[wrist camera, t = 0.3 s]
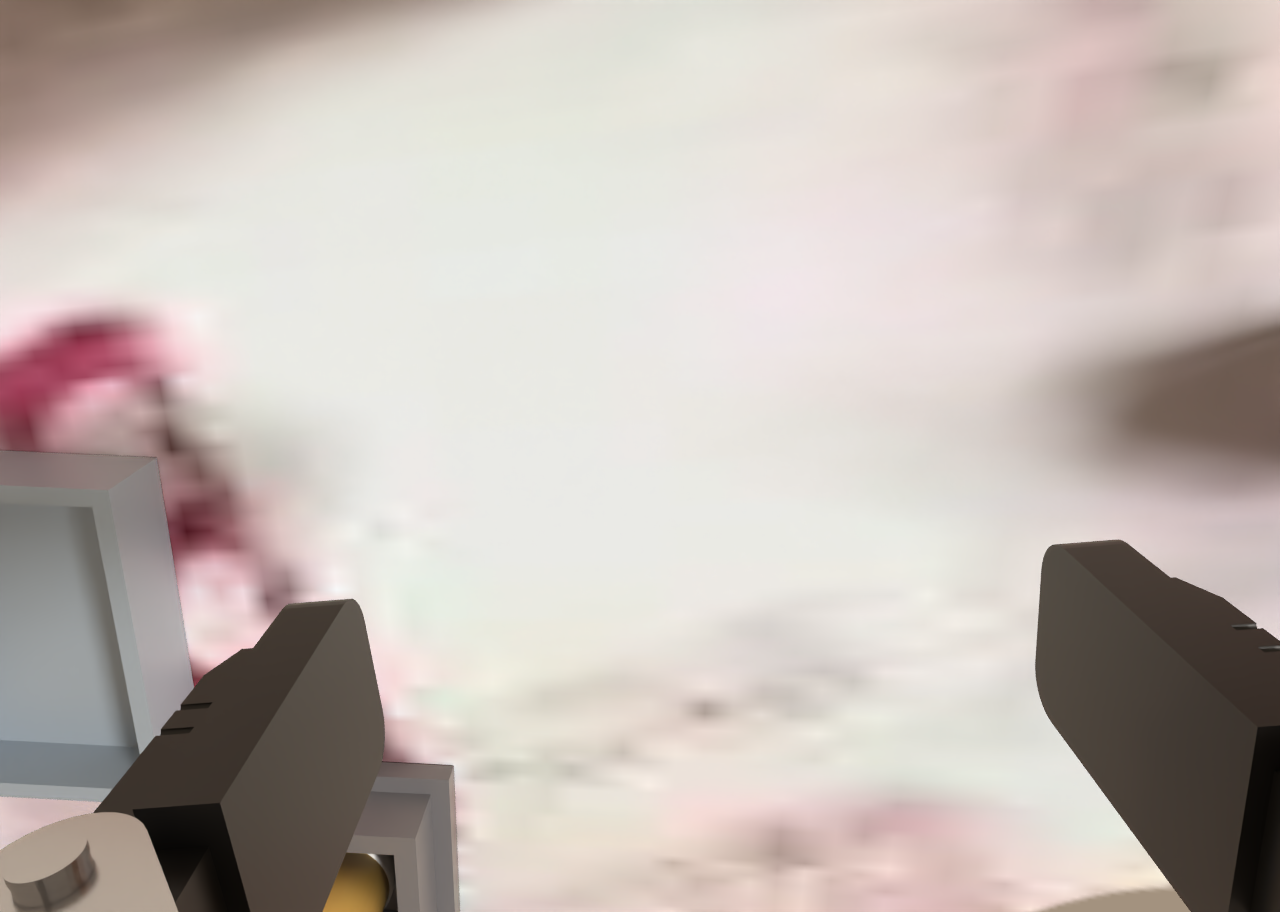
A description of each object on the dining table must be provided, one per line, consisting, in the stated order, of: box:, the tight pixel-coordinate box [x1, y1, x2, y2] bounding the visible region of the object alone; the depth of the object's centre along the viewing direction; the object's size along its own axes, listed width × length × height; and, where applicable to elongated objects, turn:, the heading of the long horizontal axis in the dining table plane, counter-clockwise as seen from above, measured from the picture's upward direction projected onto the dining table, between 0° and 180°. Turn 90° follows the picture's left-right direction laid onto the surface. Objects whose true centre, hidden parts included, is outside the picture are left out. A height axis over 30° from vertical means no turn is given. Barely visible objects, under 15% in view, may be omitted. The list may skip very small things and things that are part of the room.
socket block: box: [346, 762, 460, 912], centre depth 35 cm, size 8×8×3 cm
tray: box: [0, 450, 194, 802], centre depth 31 cm, size 12×9×3 cm
